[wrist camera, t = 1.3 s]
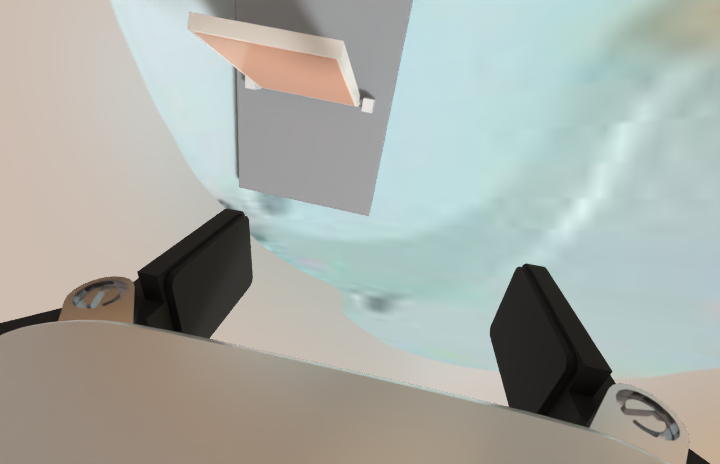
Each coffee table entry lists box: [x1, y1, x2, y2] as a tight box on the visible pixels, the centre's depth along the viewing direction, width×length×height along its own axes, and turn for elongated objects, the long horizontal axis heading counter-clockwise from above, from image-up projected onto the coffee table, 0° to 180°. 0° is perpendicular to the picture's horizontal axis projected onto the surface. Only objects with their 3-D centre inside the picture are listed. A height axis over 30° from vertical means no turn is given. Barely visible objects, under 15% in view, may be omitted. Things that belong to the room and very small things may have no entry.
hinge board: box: [235, 0, 413, 216], centre depth 31 cm, size 24×16×3 cm, turn 170°
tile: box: [188, 12, 360, 107], centre depth 25 cm, size 11×10×1 cm
